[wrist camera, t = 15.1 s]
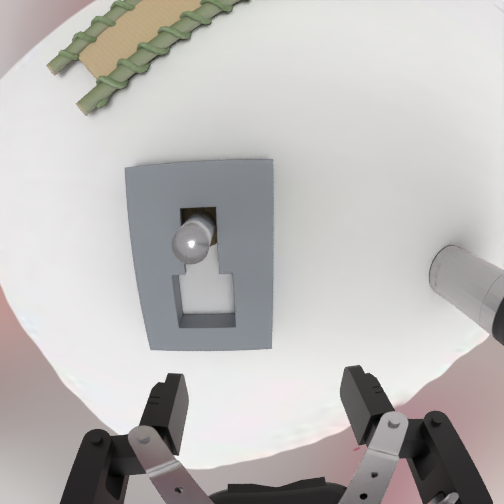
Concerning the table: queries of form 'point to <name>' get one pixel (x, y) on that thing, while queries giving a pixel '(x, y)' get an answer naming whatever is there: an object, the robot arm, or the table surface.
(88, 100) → the stretcher
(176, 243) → the steel peg
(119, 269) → the table surface
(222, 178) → the keyhole plate
